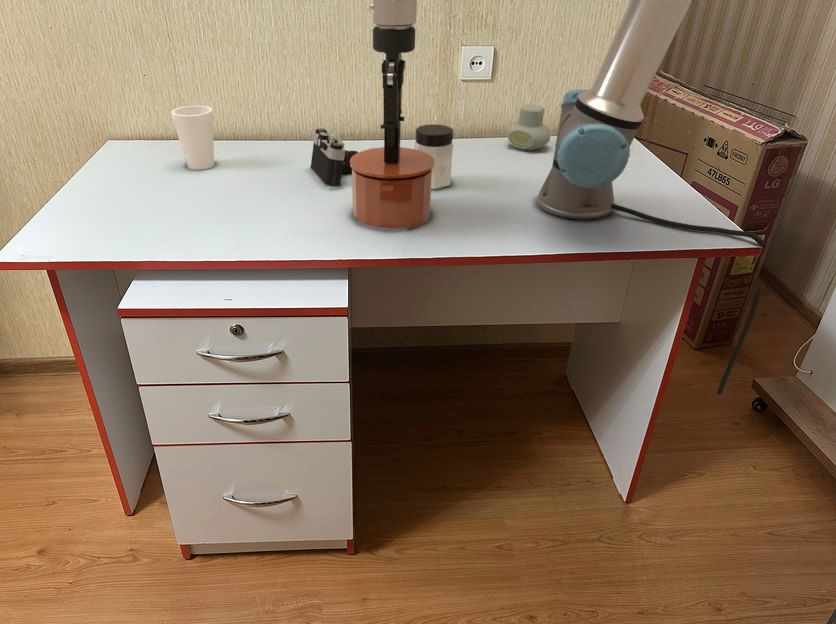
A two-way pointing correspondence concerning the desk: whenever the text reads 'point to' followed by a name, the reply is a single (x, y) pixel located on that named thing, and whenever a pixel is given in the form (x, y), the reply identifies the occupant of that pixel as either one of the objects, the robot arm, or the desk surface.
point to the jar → (437, 151)
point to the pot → (391, 200)
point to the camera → (330, 158)
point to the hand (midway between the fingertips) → (392, 158)
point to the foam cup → (195, 135)
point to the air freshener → (529, 129)
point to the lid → (407, 164)
